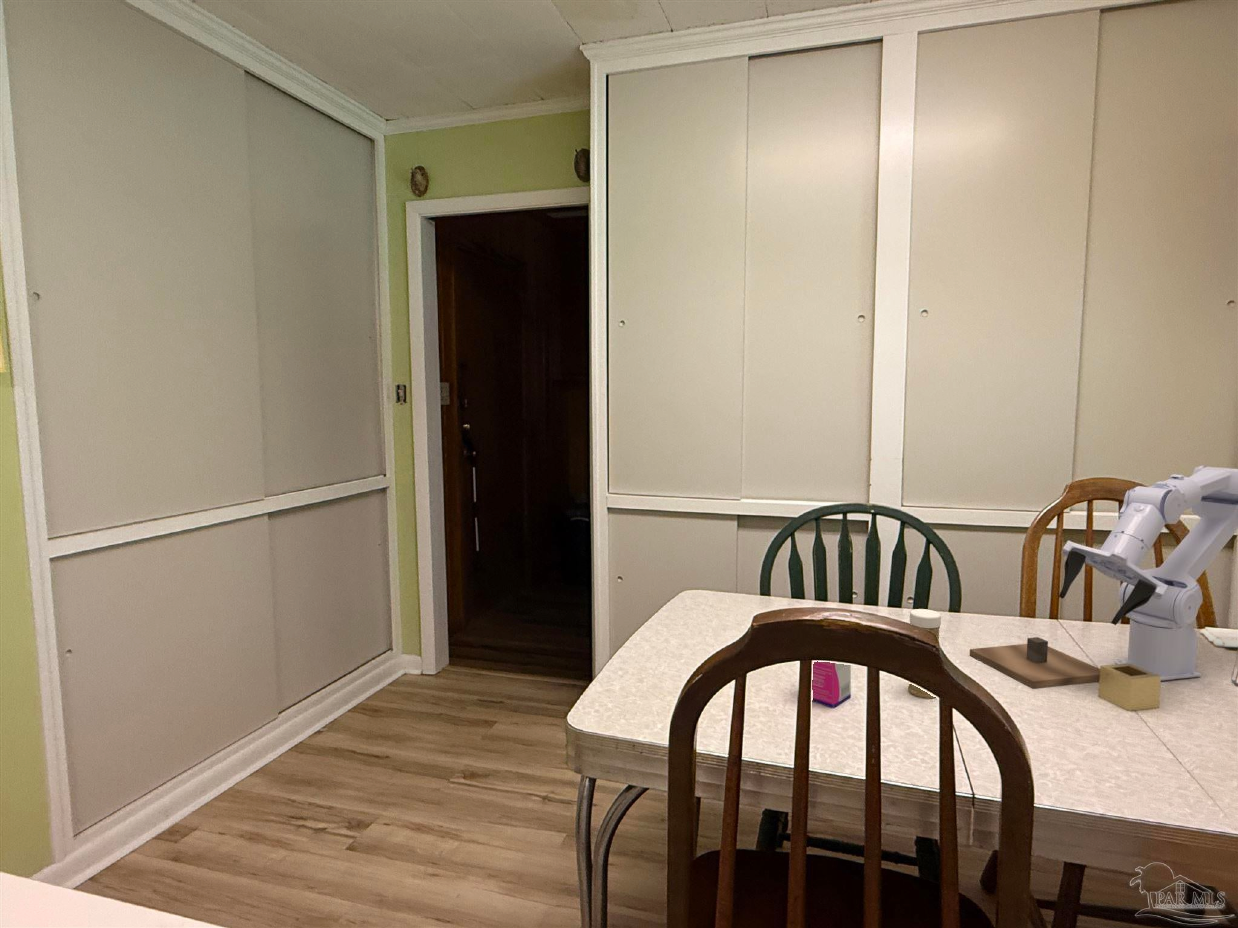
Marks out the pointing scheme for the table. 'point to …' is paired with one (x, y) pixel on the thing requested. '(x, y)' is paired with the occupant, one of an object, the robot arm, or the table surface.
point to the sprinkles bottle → (929, 622)
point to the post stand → (1037, 664)
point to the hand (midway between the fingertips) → (1087, 608)
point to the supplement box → (831, 683)
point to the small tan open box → (1129, 686)
